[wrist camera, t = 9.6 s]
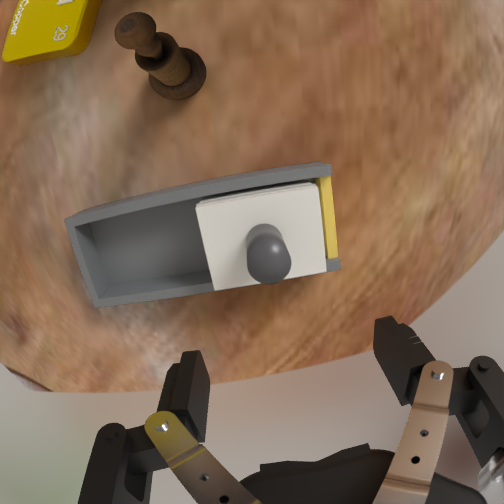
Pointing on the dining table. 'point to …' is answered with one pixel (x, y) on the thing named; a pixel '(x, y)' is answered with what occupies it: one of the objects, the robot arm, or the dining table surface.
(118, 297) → the bay
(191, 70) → the brown wooden tall piece
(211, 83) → the dining table surface
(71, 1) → the element tile
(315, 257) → the white plate with knob
